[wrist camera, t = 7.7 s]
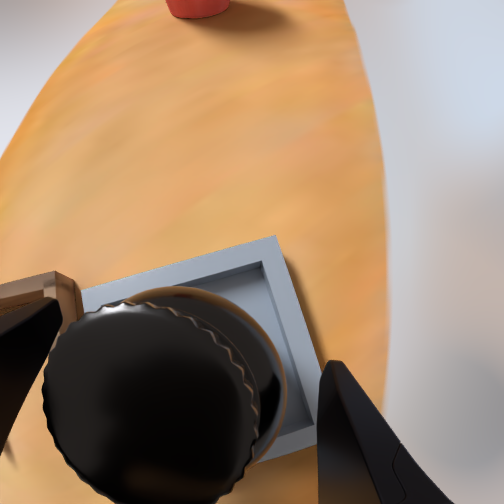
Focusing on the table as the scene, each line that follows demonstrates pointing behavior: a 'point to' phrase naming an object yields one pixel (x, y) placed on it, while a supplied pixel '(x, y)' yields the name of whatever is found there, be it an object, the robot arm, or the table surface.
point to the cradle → (42, 294)
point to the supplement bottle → (164, 396)
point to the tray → (256, 305)
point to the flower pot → (196, 7)
